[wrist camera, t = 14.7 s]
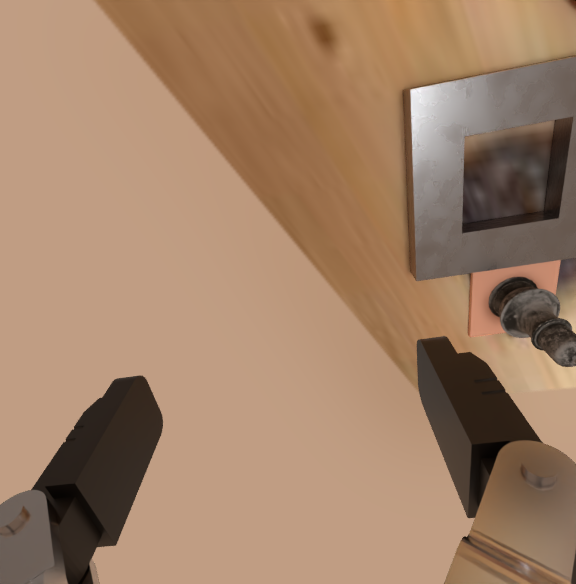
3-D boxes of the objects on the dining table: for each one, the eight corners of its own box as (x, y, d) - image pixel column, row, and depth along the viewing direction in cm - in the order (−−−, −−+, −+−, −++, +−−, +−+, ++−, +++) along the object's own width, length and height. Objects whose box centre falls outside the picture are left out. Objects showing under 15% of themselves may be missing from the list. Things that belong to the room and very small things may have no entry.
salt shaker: (552, 290, 42) (638, 357, 31) (511, 328, 44) (578, 402, 34) (513, 264, 41) (589, 324, 30) (474, 305, 43) (531, 374, 32)
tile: (470, 266, 42) (473, 268, 41) (557, 253, 41) (561, 255, 40) (468, 334, 46) (470, 337, 45) (547, 324, 45) (550, 326, 44)
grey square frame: (403, 89, 34) (410, 89, 32) (619, 46, 32) (643, 43, 30) (410, 271, 42) (416, 281, 40) (583, 245, 40) (600, 254, 38)
